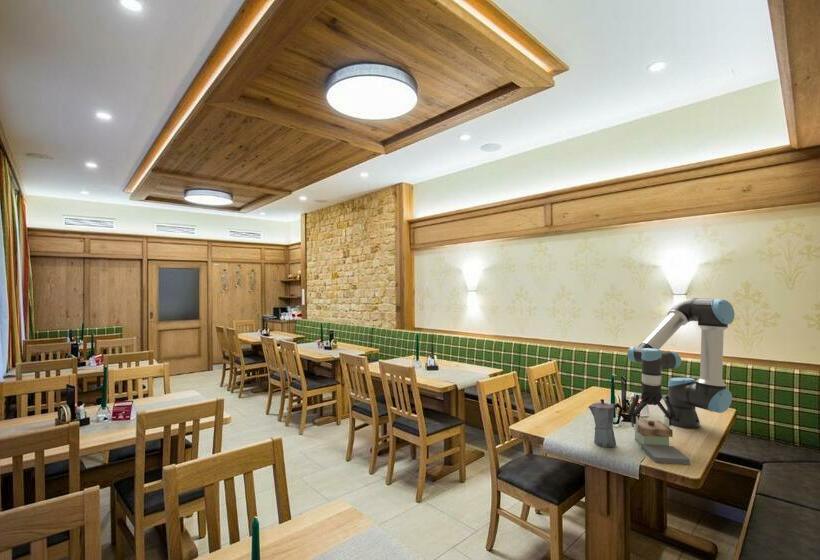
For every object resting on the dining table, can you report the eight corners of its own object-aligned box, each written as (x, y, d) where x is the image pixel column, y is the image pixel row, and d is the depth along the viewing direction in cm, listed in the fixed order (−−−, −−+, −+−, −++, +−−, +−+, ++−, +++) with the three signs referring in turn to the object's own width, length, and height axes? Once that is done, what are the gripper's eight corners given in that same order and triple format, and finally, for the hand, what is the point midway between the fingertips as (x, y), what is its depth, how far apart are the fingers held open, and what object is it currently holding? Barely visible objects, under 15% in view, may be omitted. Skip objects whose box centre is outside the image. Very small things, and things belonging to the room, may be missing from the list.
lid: (659, 427, 184) (659, 417, 184) (672, 437, 172) (672, 426, 172) (631, 425, 185) (631, 416, 185) (642, 435, 174) (642, 425, 174)
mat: (673, 450, 172) (673, 446, 172) (689, 464, 159) (689, 459, 159) (641, 448, 174) (641, 444, 174) (654, 462, 161) (654, 457, 161)
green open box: (658, 440, 183) (658, 427, 183) (669, 450, 173) (669, 436, 173) (634, 439, 184) (634, 426, 184) (644, 448, 174) (644, 434, 174)
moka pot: (583, 440, 184) (583, 396, 184) (615, 439, 185) (615, 395, 185) (594, 448, 174) (594, 402, 174) (628, 447, 175) (628, 401, 176)
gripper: (676, 382, 181) (676, 430, 181) (619, 380, 184) (619, 427, 184) (685, 386, 173) (685, 436, 173) (625, 384, 177) (625, 433, 177)
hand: (651, 431), depth 179 cm, fingers closed on lid, 12 cm apart
